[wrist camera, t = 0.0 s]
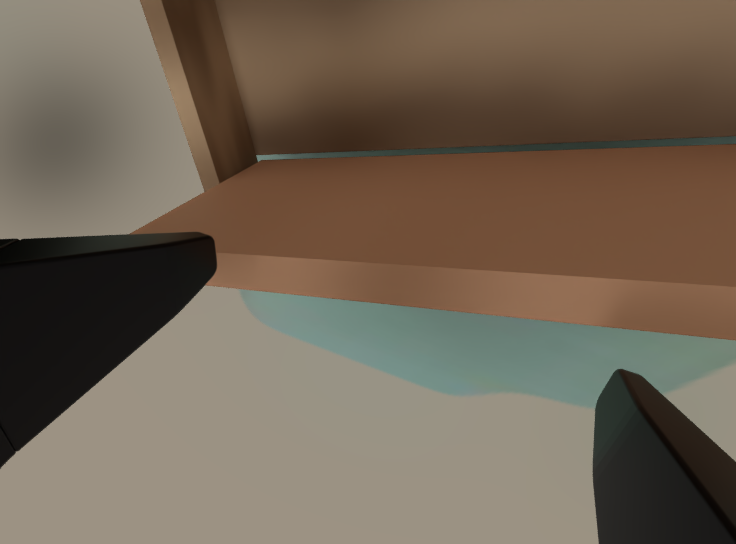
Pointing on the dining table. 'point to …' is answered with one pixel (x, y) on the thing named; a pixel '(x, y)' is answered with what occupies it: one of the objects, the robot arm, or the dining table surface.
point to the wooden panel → (489, 233)
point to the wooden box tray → (440, 73)
